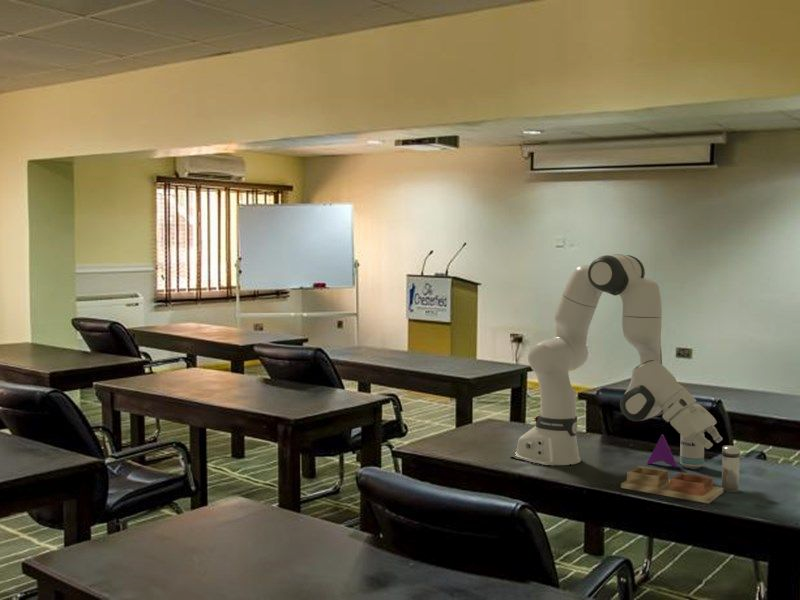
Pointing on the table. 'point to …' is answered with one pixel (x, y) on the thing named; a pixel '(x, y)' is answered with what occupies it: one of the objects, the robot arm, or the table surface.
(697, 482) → the collar board
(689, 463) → the beverage can
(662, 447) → the arrowhead
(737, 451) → the white cylinder
